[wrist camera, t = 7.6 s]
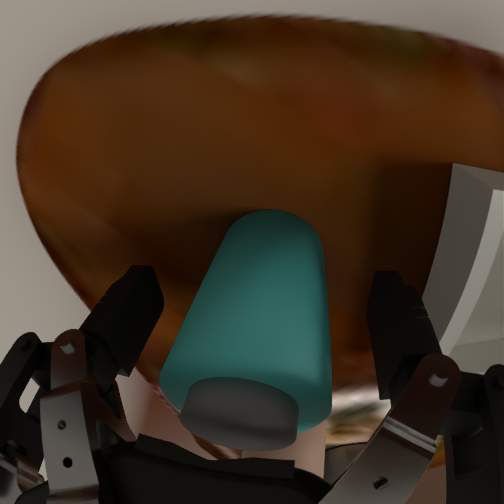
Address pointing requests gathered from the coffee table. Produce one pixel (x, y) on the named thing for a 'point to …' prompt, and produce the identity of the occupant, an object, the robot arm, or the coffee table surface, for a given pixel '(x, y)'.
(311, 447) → the beige cylinder
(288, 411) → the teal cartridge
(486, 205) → the tray
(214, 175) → the coffee table surface
